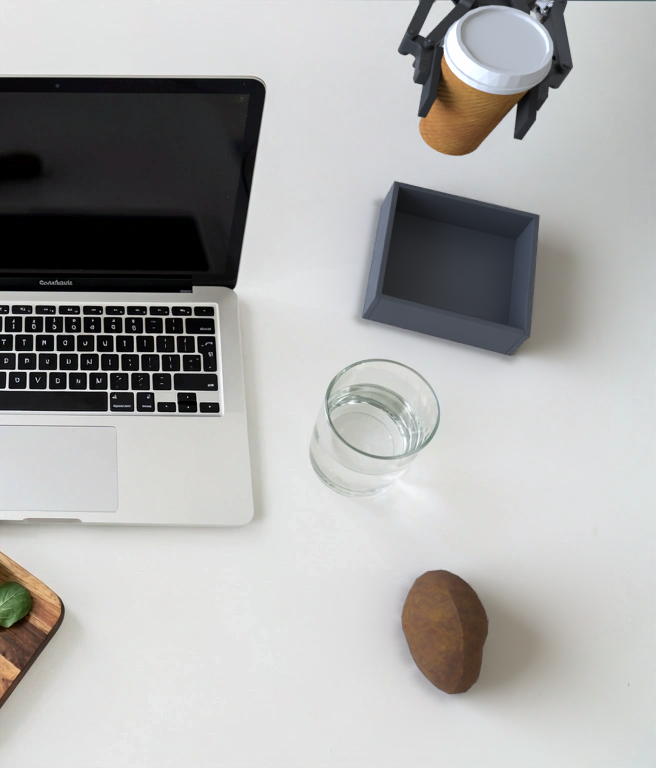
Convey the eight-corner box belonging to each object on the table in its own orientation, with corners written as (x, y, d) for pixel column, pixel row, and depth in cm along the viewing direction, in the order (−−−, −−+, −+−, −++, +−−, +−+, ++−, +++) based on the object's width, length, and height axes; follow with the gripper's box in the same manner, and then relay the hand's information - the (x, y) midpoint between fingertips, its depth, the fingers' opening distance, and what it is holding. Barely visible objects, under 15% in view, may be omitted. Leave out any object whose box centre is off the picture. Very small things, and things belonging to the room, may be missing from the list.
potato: (402, 698, 78) (434, 687, 71) (379, 578, 82) (407, 558, 76) (483, 695, 78) (522, 684, 72) (455, 575, 82) (489, 555, 76)
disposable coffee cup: (404, 89, 94) (450, -6, 83) (498, 104, 93) (557, 10, 82) (400, 160, 90) (448, 70, 79) (498, 176, 89) (560, 87, 78)
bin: (519, 240, 99) (540, 214, 95) (508, 358, 92) (530, 336, 88) (380, 206, 100) (394, 180, 96) (360, 320, 94) (374, 297, 90)
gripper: (582, 7, 95) (571, 171, 85) (382, -35, 97) (349, 120, 88) (623, -56, 88) (616, 115, 78) (407, -99, 90) (375, 61, 81)
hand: (475, 117), depth 83 cm, fingers closed on disposable coffee cup, 8 cm apart
